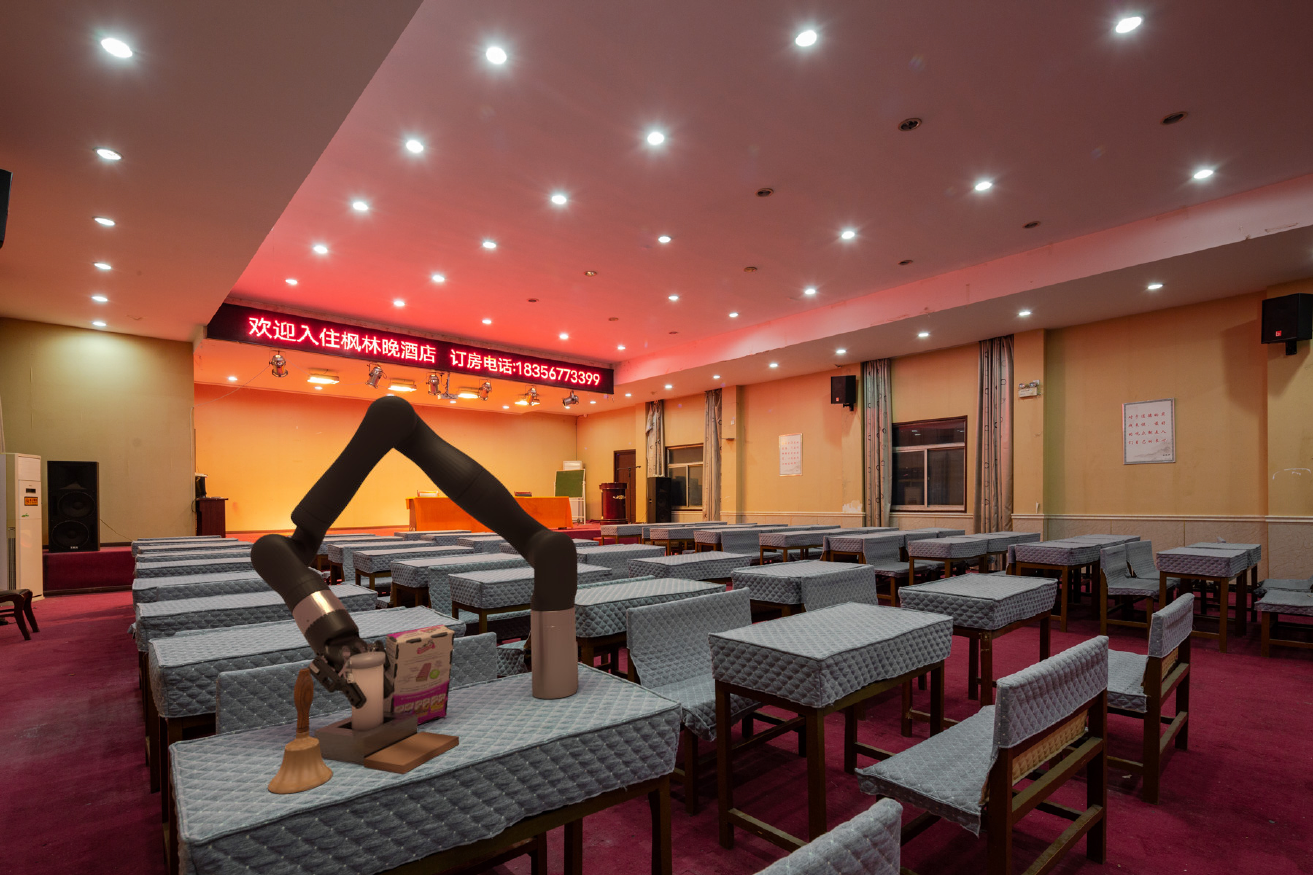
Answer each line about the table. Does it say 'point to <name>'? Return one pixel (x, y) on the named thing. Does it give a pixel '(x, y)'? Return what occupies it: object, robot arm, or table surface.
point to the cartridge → (368, 689)
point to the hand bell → (301, 748)
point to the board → (411, 752)
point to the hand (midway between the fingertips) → (375, 699)
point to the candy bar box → (419, 672)
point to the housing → (364, 737)
